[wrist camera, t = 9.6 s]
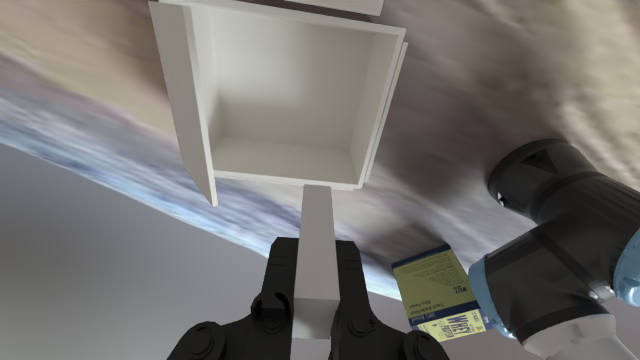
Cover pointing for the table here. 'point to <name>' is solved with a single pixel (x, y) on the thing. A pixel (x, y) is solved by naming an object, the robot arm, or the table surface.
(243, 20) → the carton
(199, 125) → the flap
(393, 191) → the table surface
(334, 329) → the robot arm
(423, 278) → the protein box
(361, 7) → the side flap
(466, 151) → the table surface
